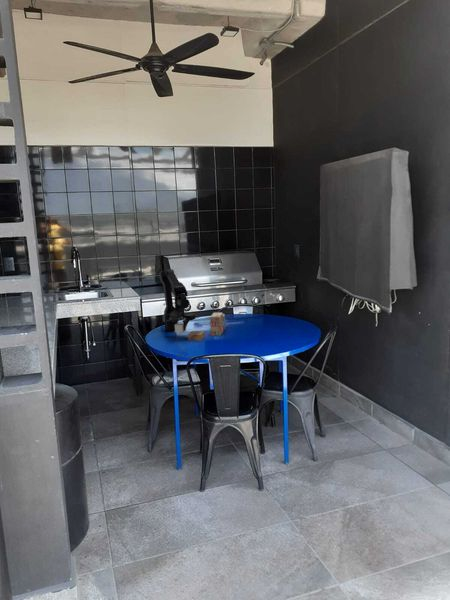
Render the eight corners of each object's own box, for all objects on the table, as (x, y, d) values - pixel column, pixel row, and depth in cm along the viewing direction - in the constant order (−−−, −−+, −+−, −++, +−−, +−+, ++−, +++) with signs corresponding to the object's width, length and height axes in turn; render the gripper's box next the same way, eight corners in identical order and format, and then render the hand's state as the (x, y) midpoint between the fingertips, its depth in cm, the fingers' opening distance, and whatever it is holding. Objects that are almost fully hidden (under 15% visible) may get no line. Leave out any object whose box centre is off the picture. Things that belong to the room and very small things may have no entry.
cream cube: (175, 332, 278) (174, 324, 277) (179, 330, 283) (178, 322, 282) (182, 333, 276) (181, 325, 275) (186, 331, 281) (185, 323, 280)
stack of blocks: (216, 327, 303) (215, 309, 301) (225, 327, 302) (225, 309, 300) (210, 335, 282) (210, 316, 280) (220, 335, 281) (219, 316, 279)
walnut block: (188, 340, 273) (187, 334, 272) (192, 337, 281) (192, 331, 280) (200, 341, 271) (200, 334, 270) (205, 337, 278) (204, 331, 278)
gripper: (159, 307, 273) (160, 332, 276) (186, 308, 265) (187, 334, 268) (168, 303, 283) (169, 327, 286) (195, 305, 275) (196, 330, 278)
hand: (180, 330), depth 279 cm, fingers closed on cream cube, 5 cm apart
